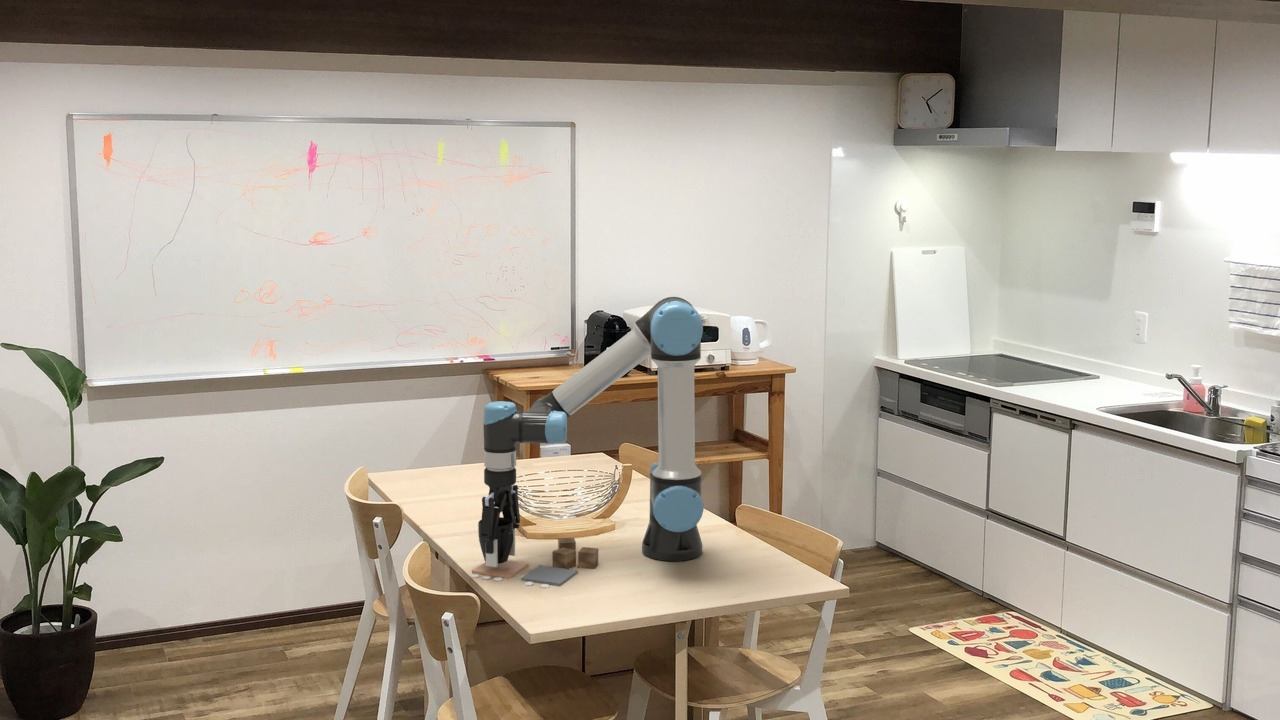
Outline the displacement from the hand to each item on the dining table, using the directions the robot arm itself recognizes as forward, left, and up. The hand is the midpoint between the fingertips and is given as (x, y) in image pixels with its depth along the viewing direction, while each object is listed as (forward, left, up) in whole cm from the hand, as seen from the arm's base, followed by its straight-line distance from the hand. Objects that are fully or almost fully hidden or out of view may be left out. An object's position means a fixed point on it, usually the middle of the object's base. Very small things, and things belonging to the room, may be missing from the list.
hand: (500, 560), depth 293 cm
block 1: (-10, -16, -2) cm, 19 cm away
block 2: (-13, -8, -2) cm, 15 cm away
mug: (0, +1, -1) cm, 1 cm away
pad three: (0, +1, -2) cm, 3 cm away
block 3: (-18, -11, -2) cm, 21 cm away
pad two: (-13, +1, -2) cm, 13 cm away
